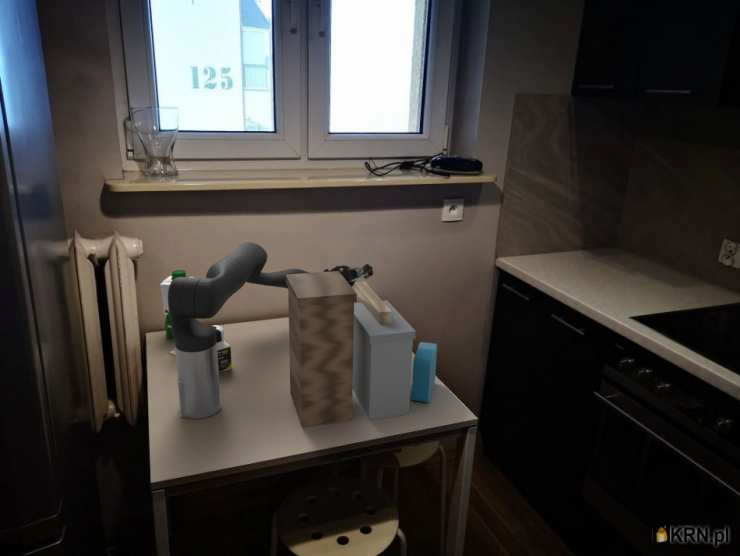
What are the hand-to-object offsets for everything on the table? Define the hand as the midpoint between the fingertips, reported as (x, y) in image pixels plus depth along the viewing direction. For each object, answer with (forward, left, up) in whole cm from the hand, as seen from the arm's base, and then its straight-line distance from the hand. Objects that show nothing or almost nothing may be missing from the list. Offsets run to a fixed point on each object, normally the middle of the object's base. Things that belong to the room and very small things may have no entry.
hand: (353, 268), depth 157 cm
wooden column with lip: (-15, -25, -27) cm, 40 cm away
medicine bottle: (-39, +2, -27) cm, 48 cm away
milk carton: (-48, +27, -27) cm, 62 cm away
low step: (0, -24, -27) cm, 36 cm away
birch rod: (0, -17, -5) cm, 18 cm away
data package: (+13, -25, -27) cm, 39 cm away
